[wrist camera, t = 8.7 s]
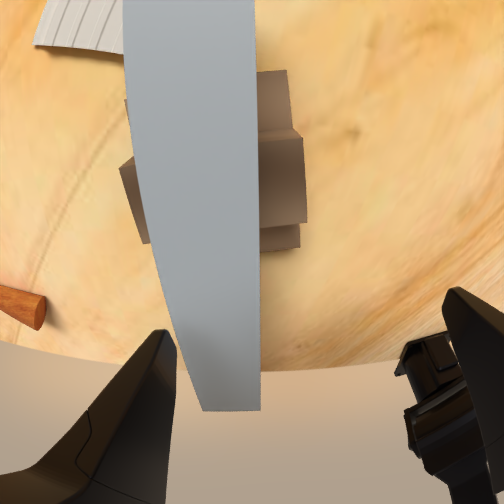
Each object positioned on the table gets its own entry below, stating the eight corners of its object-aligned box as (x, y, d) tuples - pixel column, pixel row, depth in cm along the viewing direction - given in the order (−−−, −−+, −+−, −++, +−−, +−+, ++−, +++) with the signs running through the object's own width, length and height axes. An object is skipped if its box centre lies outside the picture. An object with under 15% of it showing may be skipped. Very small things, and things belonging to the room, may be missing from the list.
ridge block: (294, 230, 19) (308, 273, 15) (174, 246, 19) (160, 290, 15) (280, 71, 13) (295, 67, 10) (137, 96, 14) (103, 104, 10)
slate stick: (257, 359, 19) (260, 410, 16) (206, 360, 19) (202, 411, 16) (246, -66, 6) (249, -113, 3) (160, -57, 6) (132, -96, 2)
